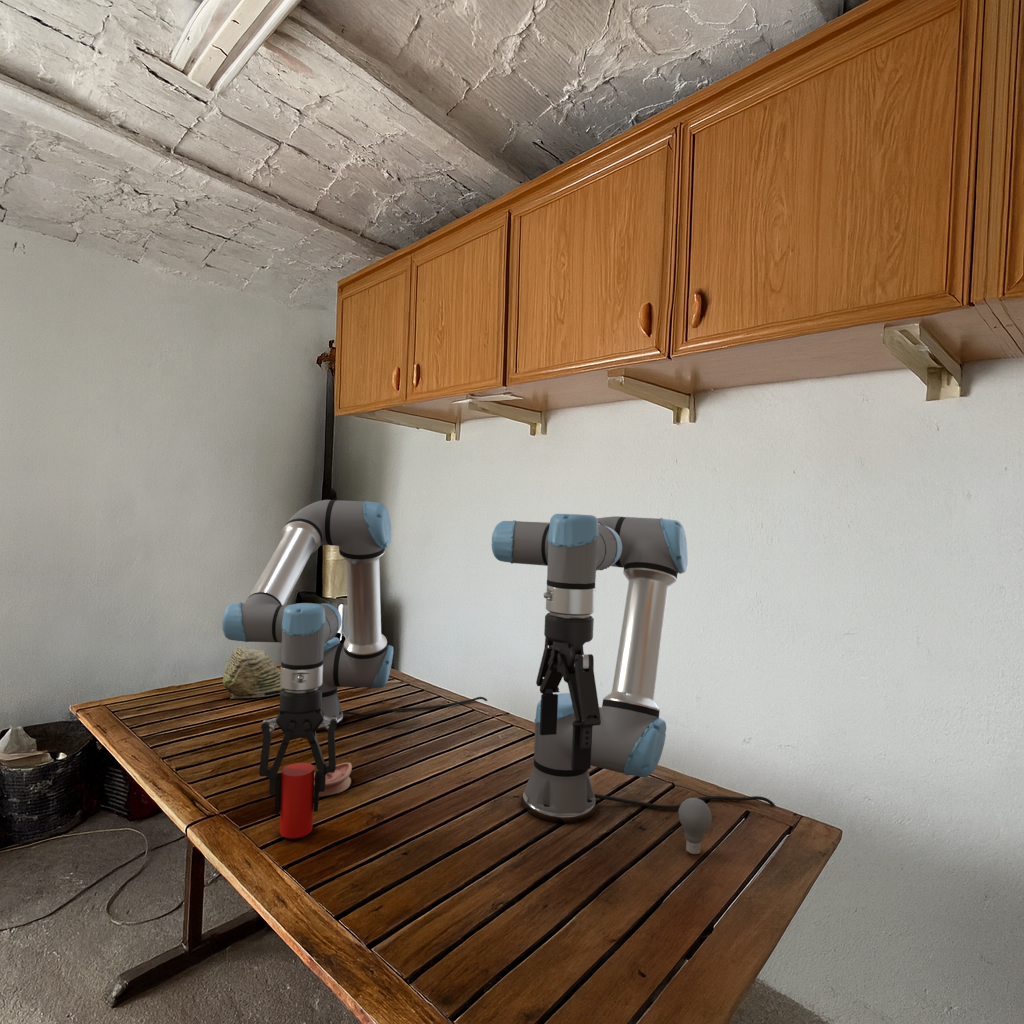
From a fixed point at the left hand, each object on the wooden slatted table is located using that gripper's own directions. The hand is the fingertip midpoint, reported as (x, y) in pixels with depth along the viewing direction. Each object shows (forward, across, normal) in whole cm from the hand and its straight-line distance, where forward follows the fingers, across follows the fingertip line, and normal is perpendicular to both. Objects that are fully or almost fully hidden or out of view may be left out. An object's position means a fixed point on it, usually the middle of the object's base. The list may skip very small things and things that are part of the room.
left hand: (296, 809), depth 119 cm
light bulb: (+5, +72, -19) cm, 75 cm away
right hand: (-21, +41, -31) cm, 56 cm away
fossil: (+5, -20, +86) cm, 89 cm away
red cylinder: (+4, 0, 0) cm, 4 cm away
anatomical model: (+5, +3, +19) cm, 20 cm away
